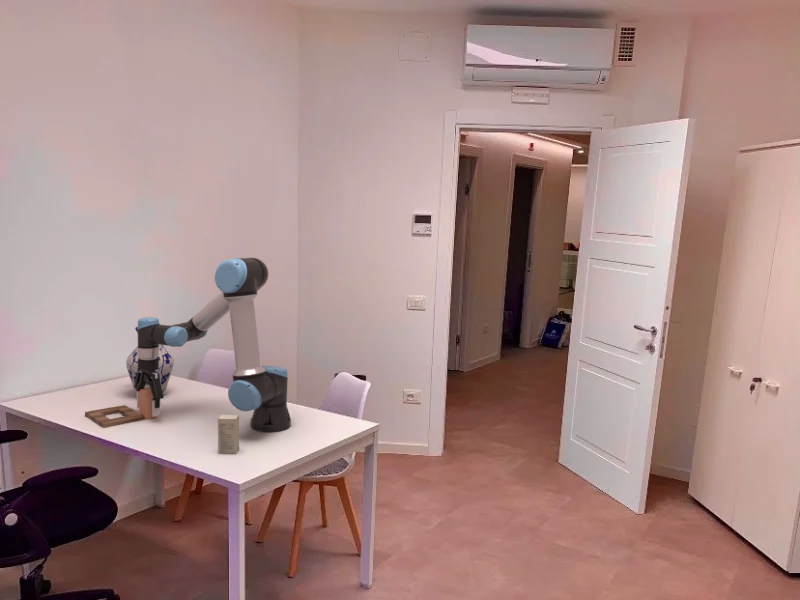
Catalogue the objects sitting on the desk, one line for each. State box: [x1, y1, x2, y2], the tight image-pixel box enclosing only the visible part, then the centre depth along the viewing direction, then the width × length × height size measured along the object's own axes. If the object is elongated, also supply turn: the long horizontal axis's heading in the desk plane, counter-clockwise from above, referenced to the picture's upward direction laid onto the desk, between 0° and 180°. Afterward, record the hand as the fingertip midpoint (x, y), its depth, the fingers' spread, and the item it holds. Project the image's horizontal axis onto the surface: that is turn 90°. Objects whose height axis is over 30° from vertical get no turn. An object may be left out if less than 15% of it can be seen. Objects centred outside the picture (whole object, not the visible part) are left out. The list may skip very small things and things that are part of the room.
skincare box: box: [217, 414, 240, 455], centre depth 203 cm, size 6×4×12 cm
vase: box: [126, 326, 175, 397], centre depth 260 cm, size 19×19×30 cm
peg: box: [139, 388, 158, 421], centre depth 233 cm, size 4×4×11 cm
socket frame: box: [84, 404, 144, 429], centre depth 231 cm, size 18×15×2 cm
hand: (148, 411), depth 233 cm, fingers open, 13 cm apart
